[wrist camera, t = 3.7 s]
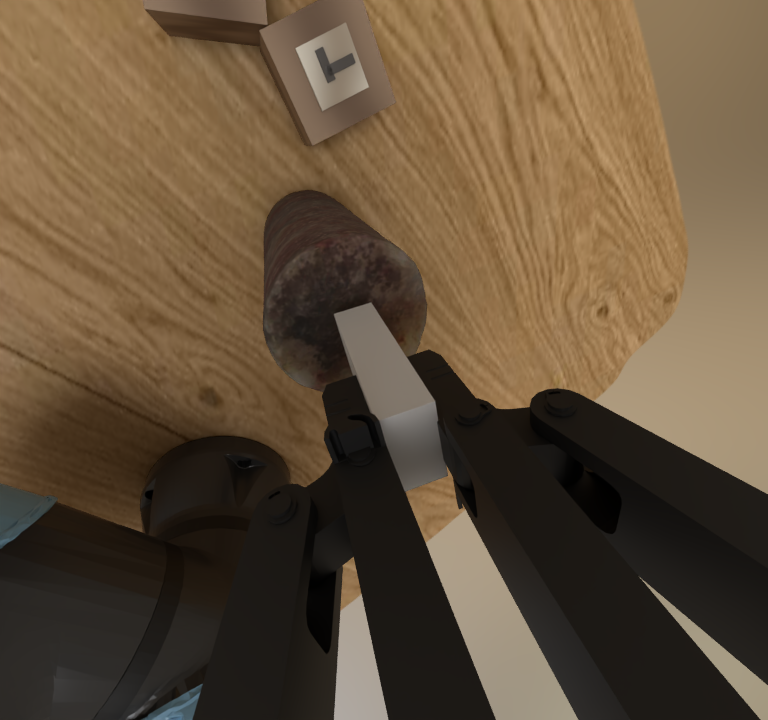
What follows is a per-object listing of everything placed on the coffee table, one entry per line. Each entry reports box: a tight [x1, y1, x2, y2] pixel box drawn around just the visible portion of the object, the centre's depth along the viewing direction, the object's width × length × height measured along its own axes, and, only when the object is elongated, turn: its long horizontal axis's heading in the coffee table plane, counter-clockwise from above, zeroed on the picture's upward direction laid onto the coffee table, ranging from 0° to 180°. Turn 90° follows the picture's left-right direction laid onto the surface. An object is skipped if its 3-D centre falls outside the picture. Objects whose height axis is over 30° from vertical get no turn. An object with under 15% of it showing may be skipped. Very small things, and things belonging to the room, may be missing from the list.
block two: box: [259, 0, 396, 146], centre depth 25 cm, size 6×6×6 cm
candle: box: [263, 190, 427, 392], centre depth 24 cm, size 8×7×20 cm
